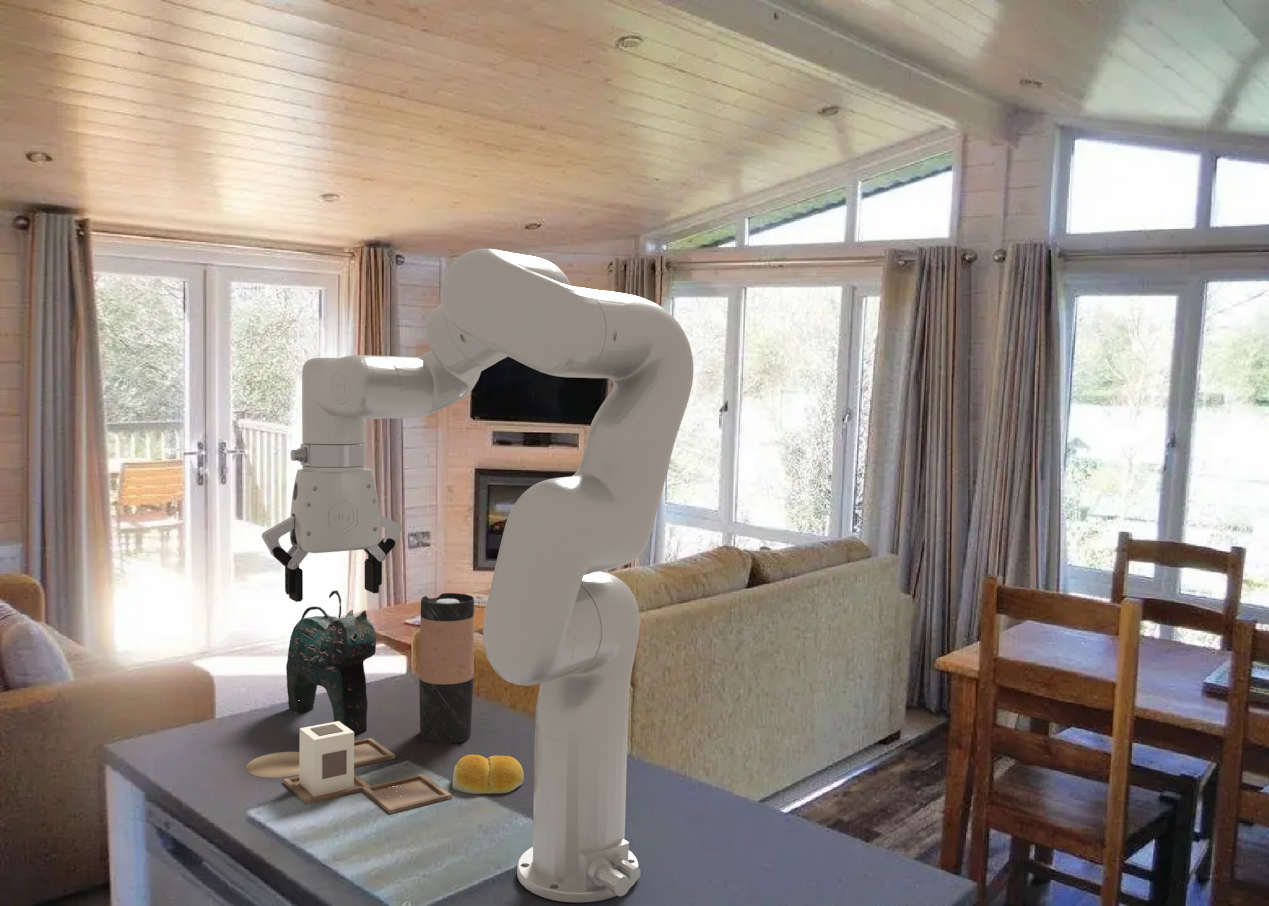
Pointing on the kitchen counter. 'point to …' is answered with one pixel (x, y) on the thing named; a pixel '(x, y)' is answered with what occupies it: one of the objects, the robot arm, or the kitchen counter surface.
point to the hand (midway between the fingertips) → (334, 595)
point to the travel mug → (446, 667)
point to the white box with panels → (326, 758)
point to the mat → (275, 765)
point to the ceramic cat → (331, 664)
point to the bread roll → (487, 774)
